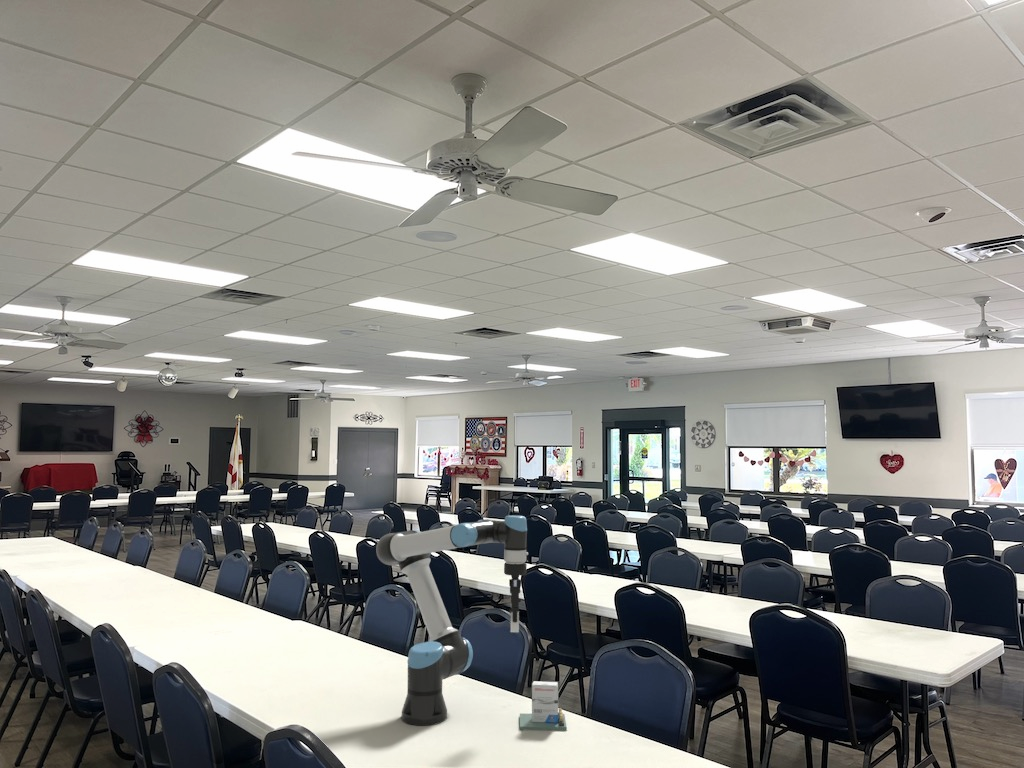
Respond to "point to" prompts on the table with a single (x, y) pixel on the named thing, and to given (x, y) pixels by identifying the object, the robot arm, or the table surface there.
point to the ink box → (545, 702)
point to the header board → (542, 723)
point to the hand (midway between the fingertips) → (514, 627)
